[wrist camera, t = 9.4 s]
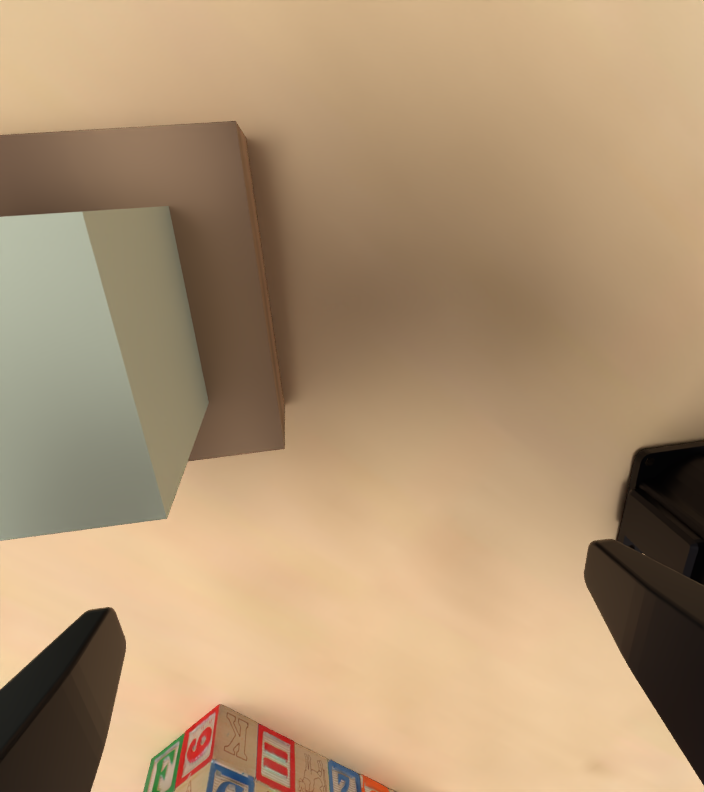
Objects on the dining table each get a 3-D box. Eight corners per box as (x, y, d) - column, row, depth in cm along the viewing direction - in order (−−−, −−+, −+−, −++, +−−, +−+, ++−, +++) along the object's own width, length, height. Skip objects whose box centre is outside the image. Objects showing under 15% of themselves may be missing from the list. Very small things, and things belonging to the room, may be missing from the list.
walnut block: (246, 139, 16) (235, 121, 12) (284, 402, 20) (284, 448, 16) (-67, 158, 15) (-181, 145, 11) (40, 431, 19) (-18, 487, 15)
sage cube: (168, 206, 13) (82, 211, 7) (208, 402, 15) (166, 518, 10) (-67, 220, 12) (-357, 240, 7) (15, 423, 14) (-148, 560, 9)
